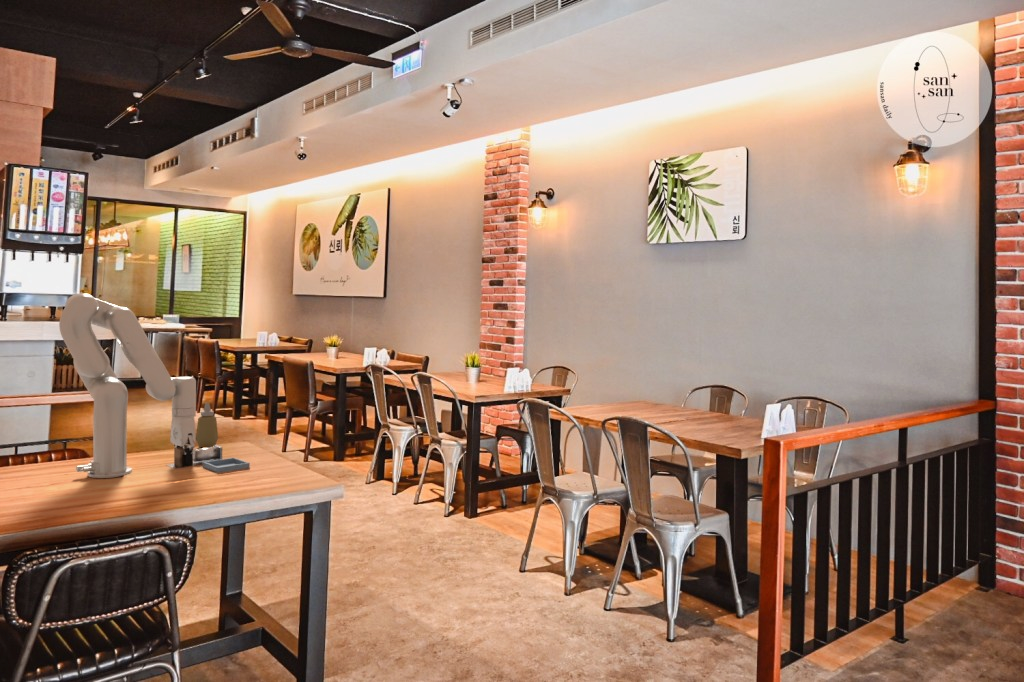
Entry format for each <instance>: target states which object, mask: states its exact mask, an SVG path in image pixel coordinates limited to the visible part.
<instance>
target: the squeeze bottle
mask: <svg viewBox="0 0 1024 682" xmlns="http://www.w3.org/2000/svg"><path fill="white" fill-rule="evenodd" d="M214 412H215V411H214V410H212V409H211V405H210V402H209V401H206V402H205V404H204V409H203V410H201V411H200V416H199V417H198V418H197V428H196V432H195V442H196V443H197V446H198V448H199V447H207V448H209V447H213V446H214V445H217V443H218V439H219V432H218V423H217V417H216V416H214V414H215V413H214Z"/></svg>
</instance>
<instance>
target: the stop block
mask: <svg viewBox="0 0 1024 682" xmlns="http://www.w3.org/2000/svg"><path fill="white" fill-rule="evenodd" d="M187 448H188V447H186V449H187ZM182 455H183V447H175V446H174V451H173V457H174V458H173V461H174V462H173V464H174V465H176V466H179V467H182ZM192 465H193V454H192ZM182 468H183V467H182Z"/></svg>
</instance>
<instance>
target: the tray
mask: <svg viewBox="0 0 1024 682" xmlns="http://www.w3.org/2000/svg"><path fill="white" fill-rule="evenodd" d="M250 466H251V465H250V462H248V461H245V460H243V459H239V458H237V457H229V458H222V459H221V460H214V461H207V462H203V465H202V468H203V469H206V470H208V471H212V472H214V473H217V474H220V475H222V474H224V473H226V474H227V473H230V472H232V473H235V472H236V471H239V472H240V471H242V470H245V471H247V470H248V469H250Z"/></svg>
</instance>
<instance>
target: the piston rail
mask: <svg viewBox="0 0 1024 682" xmlns="http://www.w3.org/2000/svg"><path fill="white" fill-rule="evenodd" d="M214 460H218V459H212V460H205V461H198V462H194V461H193V465H189V466H182V467H179V466H176V465H174V463H171V464H166V466H167V467H170V468H172V469H175V470H176V469H181V468H189V467H194V466H203V462H207V461H214Z"/></svg>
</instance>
